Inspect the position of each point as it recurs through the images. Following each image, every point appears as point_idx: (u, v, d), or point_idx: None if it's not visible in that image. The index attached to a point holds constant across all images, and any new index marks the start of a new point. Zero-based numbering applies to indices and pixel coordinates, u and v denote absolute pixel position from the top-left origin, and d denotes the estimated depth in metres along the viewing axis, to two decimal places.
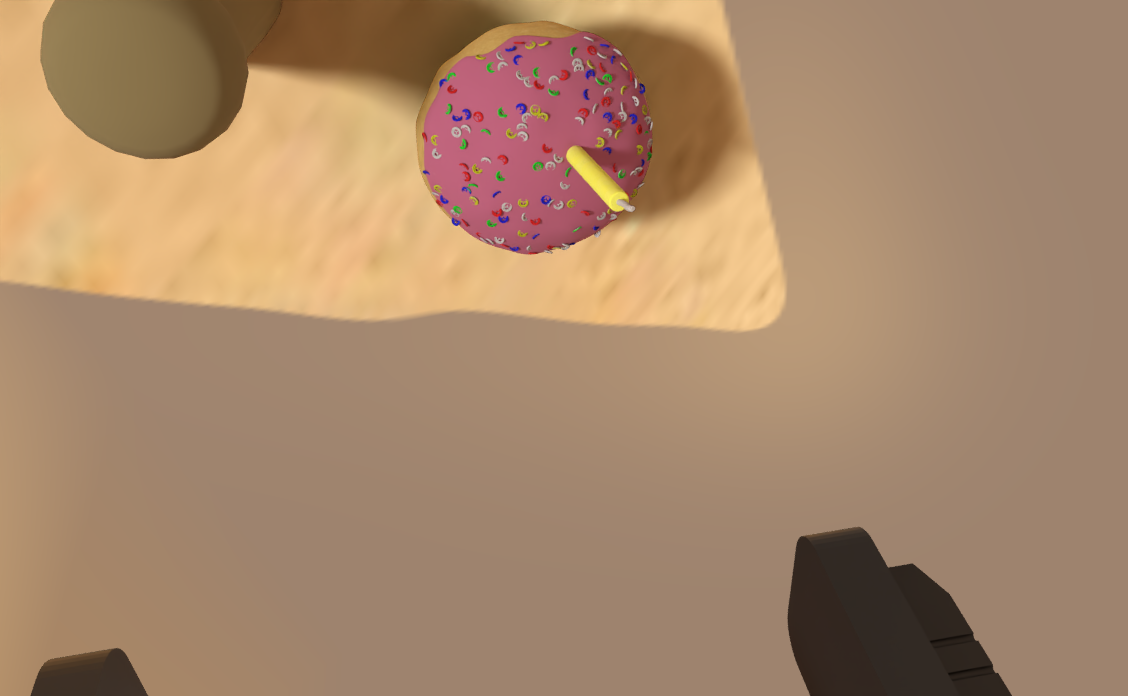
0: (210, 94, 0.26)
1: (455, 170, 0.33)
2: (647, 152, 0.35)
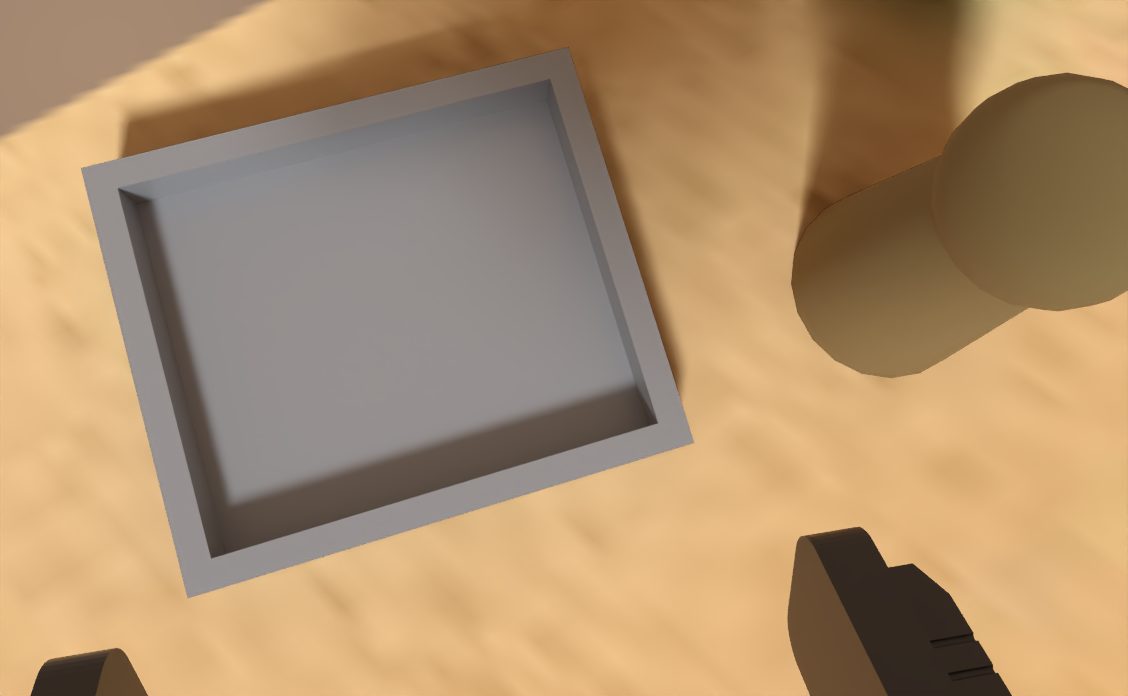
0: (1092, 88, 0.20)
1: None
2: None
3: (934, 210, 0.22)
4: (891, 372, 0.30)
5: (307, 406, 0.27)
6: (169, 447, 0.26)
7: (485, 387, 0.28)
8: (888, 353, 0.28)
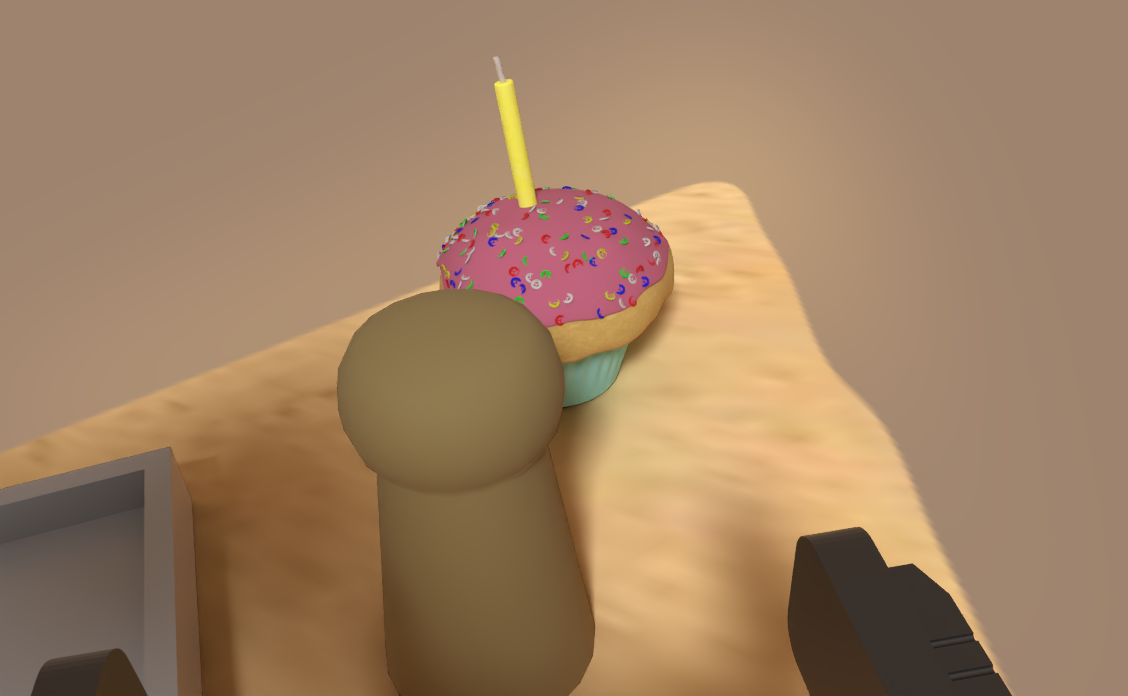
0: (449, 290, 0.23)
1: (575, 275, 0.31)
2: None
3: None
4: None
5: None
6: None
7: None
8: (443, 670, 0.24)
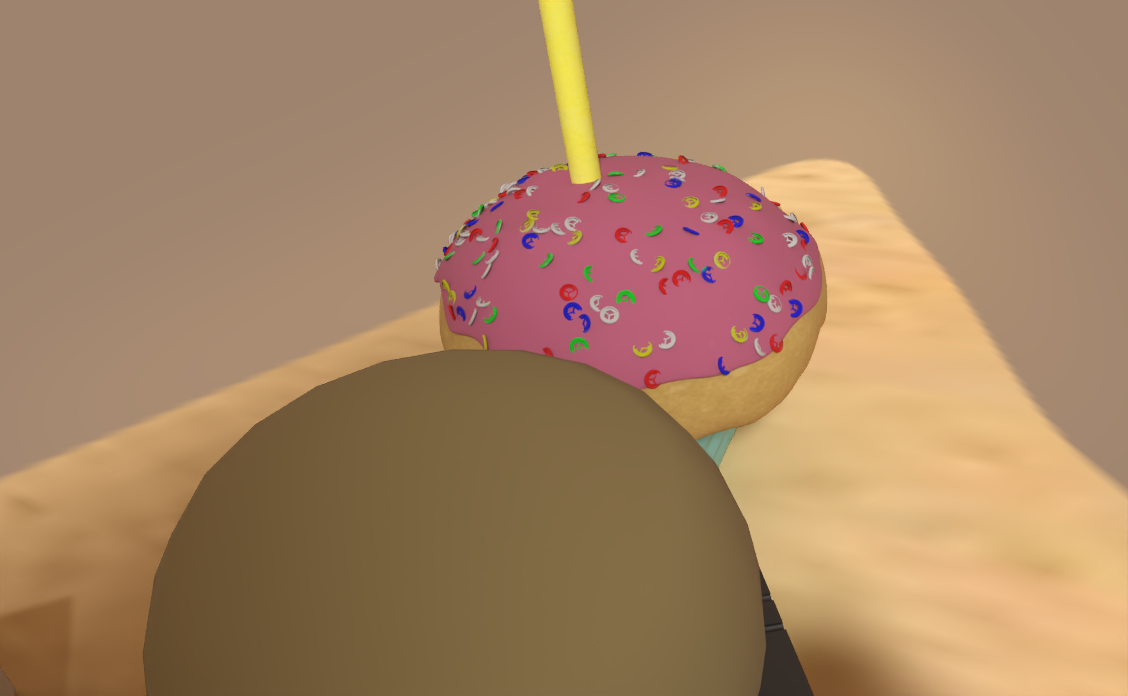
0: (454, 354, 0.09)
1: (679, 299, 0.18)
2: None
3: None
4: None
5: None
6: None
7: None
8: None
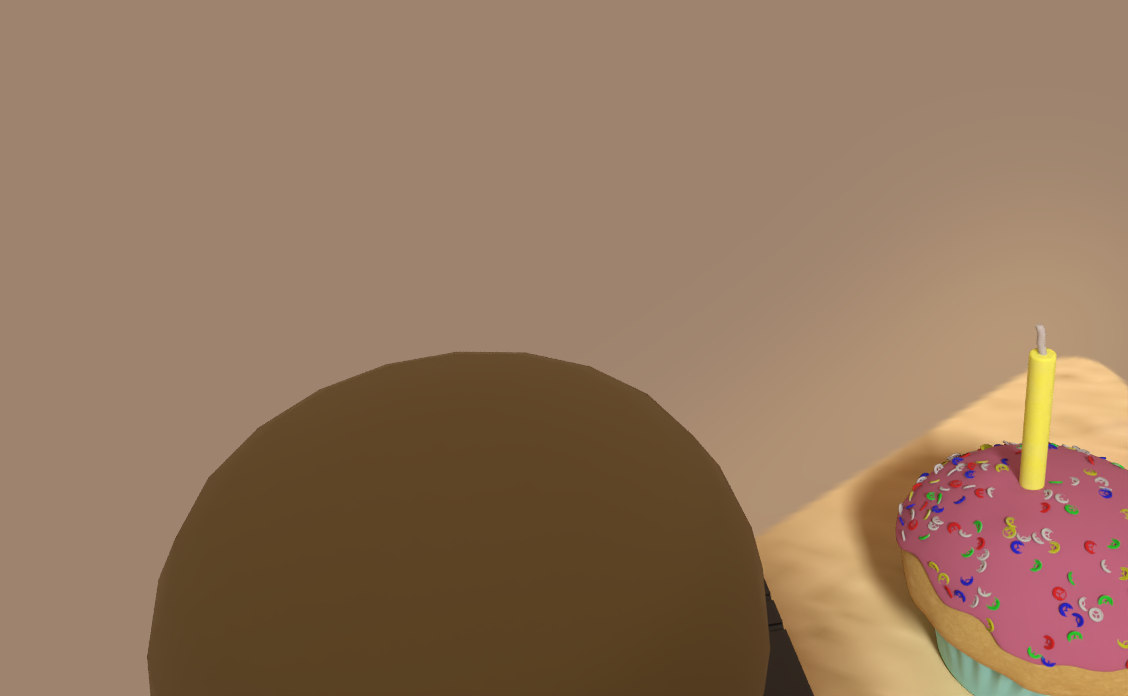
0: (457, 357, 0.09)
1: None
2: None
3: None
4: None
5: None
6: None
7: None
8: None
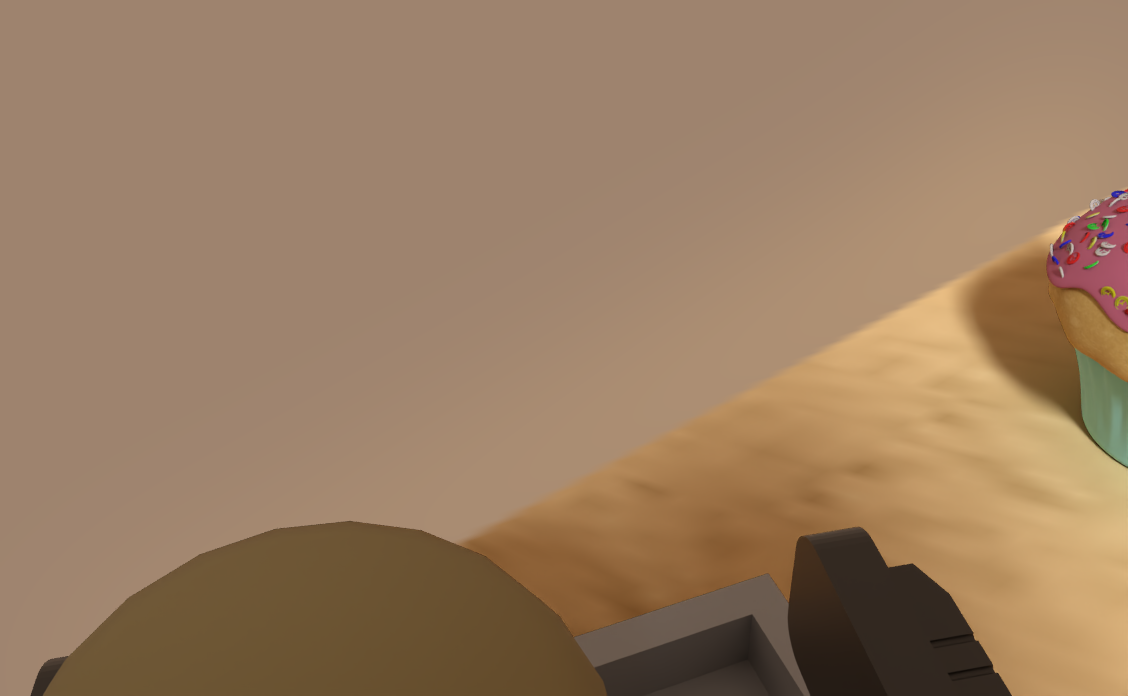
0: (349, 537, 0.09)
1: None
2: None
3: None
4: None
5: None
6: None
7: None
8: None
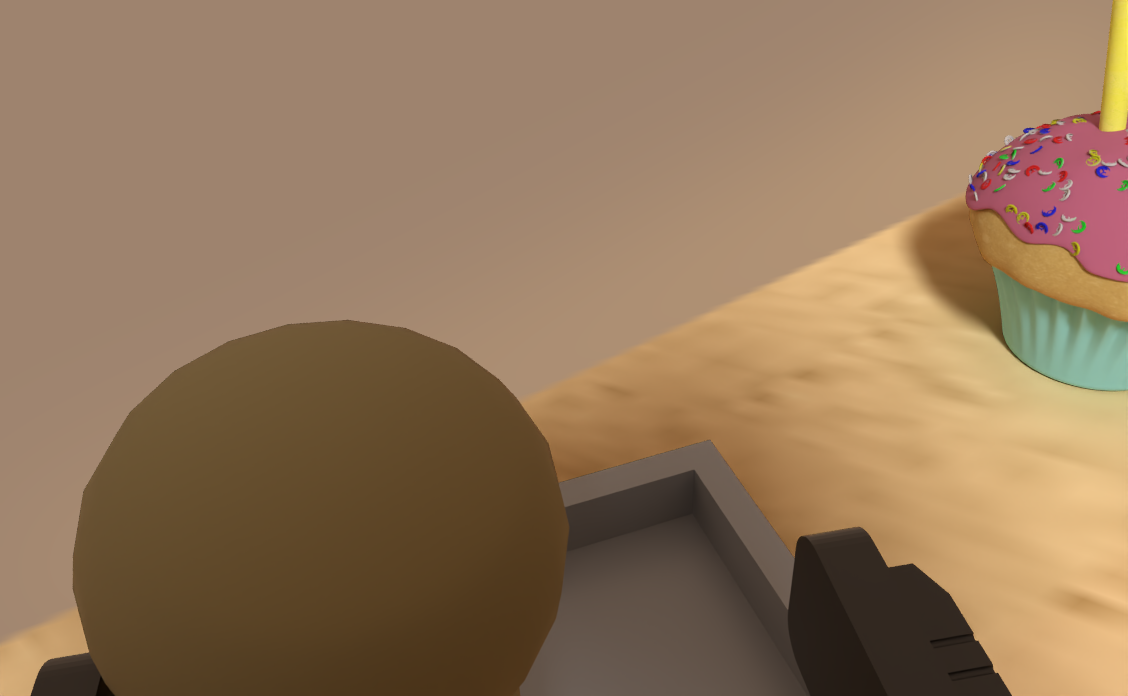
0: (347, 329, 0.11)
1: None
2: None
3: None
4: None
5: None
6: None
7: None
8: None
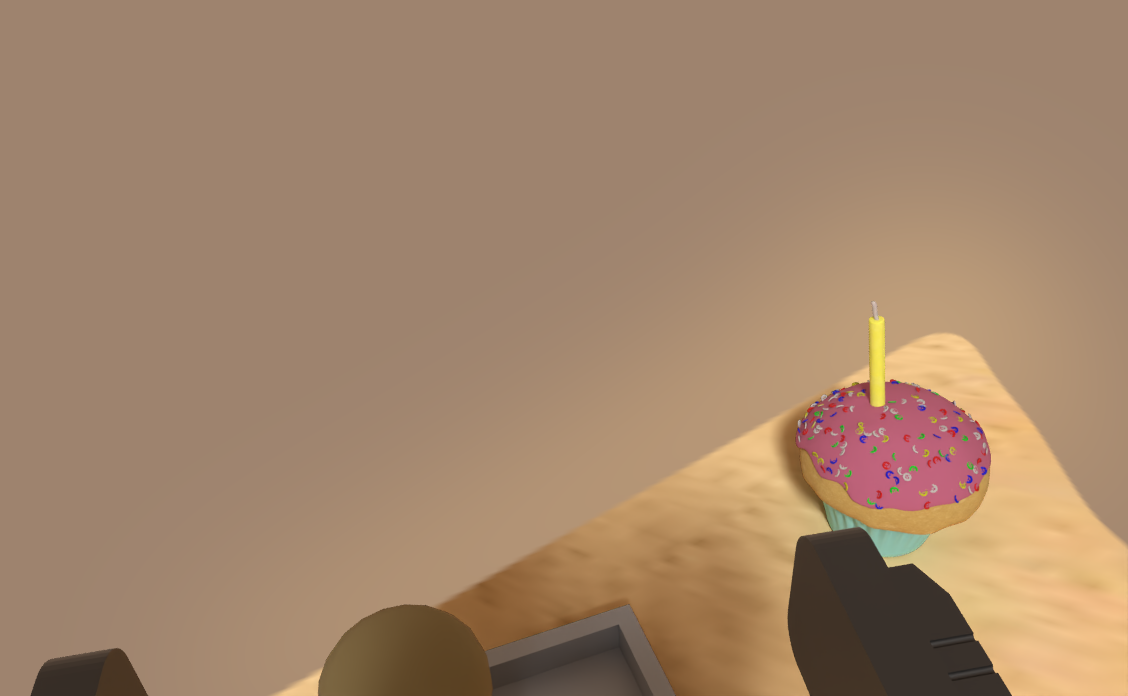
0: (404, 610, 0.30)
1: (937, 469, 0.41)
2: None
3: None
4: None
5: None
6: None
7: None
8: None
